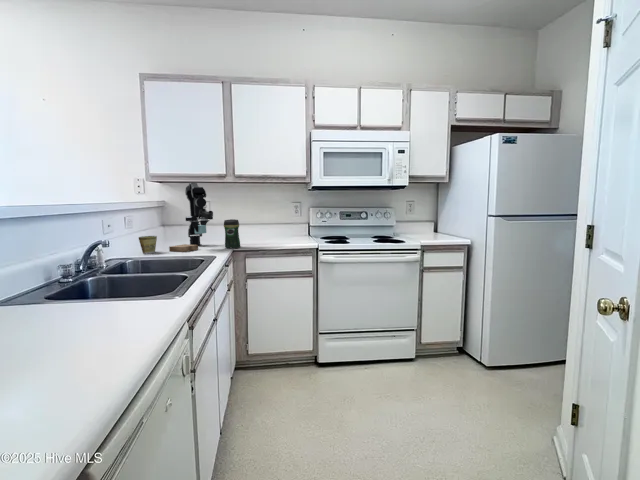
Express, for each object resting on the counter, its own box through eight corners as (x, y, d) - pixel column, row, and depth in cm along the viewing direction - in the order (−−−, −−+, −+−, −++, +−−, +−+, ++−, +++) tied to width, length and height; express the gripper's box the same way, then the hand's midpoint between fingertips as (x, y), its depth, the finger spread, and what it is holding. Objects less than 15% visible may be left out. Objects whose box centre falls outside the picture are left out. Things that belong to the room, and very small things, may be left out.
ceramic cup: (155, 253, 211) (154, 236, 210) (137, 254, 209) (136, 237, 208) (161, 250, 223) (159, 235, 222) (144, 251, 222) (142, 235, 221)
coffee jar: (241, 246, 233) (240, 218, 231) (238, 248, 225) (237, 219, 223) (227, 247, 233) (225, 219, 231) (223, 248, 225) (222, 219, 223)
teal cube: (200, 232, 227) (199, 225, 227) (206, 233, 225) (205, 225, 225) (194, 233, 223) (194, 225, 222) (200, 233, 221) (200, 225, 220)
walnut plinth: (184, 248, 230) (184, 244, 229) (198, 249, 224) (198, 244, 224) (169, 251, 219) (169, 246, 218) (183, 252, 214) (183, 247, 213)
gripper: (198, 207, 210) (199, 233, 212) (218, 206, 227) (220, 230, 229) (184, 207, 215) (185, 232, 217) (205, 206, 232) (206, 230, 234)
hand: (200, 231), depth 224 cm, fingers closed on teal cube, 5 cm apart
